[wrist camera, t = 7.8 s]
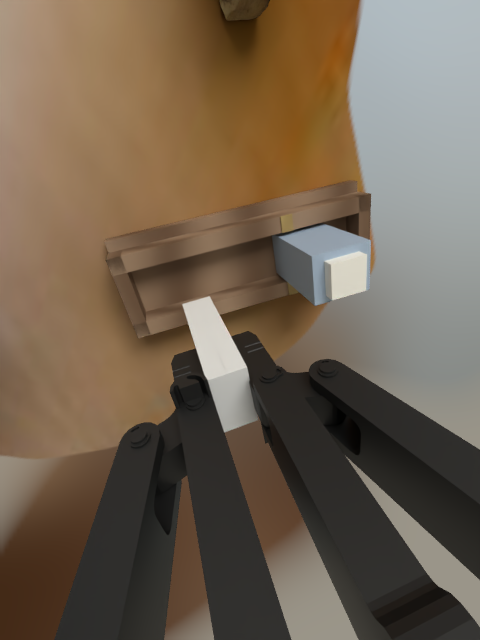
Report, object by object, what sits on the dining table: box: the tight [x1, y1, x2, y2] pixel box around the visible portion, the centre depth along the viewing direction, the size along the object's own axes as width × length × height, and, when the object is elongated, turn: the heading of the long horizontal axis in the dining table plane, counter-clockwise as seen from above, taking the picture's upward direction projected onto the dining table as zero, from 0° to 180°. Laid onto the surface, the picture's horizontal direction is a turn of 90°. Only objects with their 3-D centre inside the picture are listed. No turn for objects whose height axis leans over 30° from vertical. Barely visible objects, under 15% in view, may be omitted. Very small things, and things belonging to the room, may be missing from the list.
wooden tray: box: [104, 181, 371, 338], centre depth 25 cm, size 20×8×3 cm, turn 101°
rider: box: [272, 223, 371, 306], centre depth 22 cm, size 4×3×8 cm
